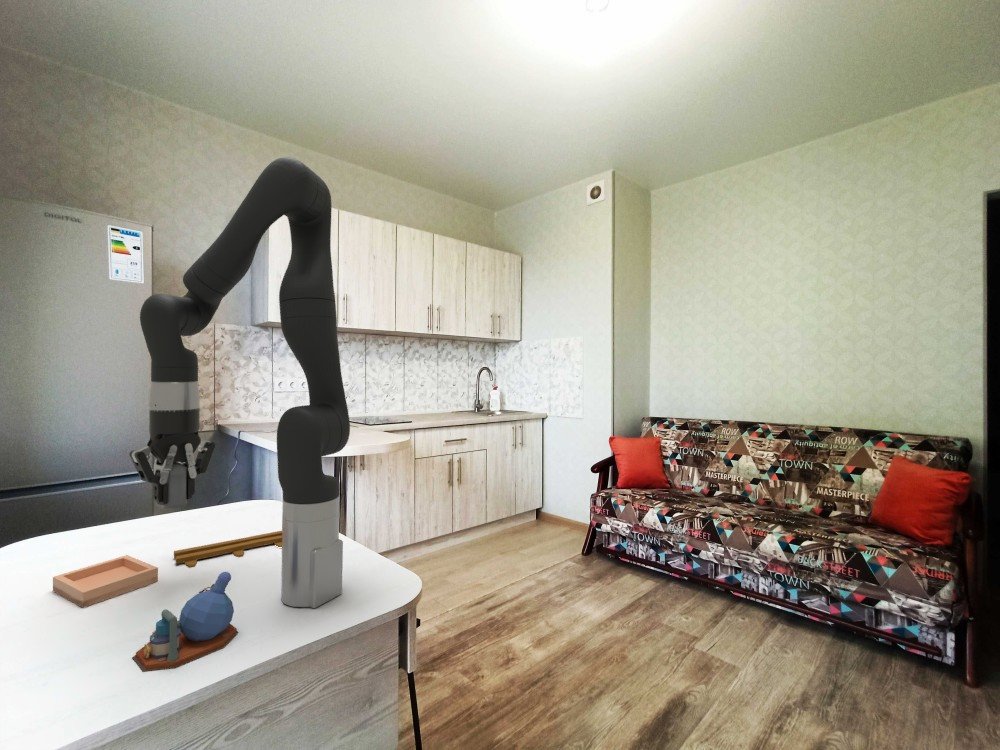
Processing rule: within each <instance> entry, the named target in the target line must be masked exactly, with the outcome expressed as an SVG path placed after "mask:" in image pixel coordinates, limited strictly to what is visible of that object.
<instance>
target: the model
mask: <svg viewBox="0 0 1000 750" xmlns="http://www.w3.org/2000/svg"><path fill="white" fill-rule="evenodd" d="M231 579H232V575H231V573H230V572H229V571H222V572H221V573H219V575H218V576H217V579H216V580H215V582H214V583H212V584H211V585H210V586H207V587H204V588H203V589H201V591H199V592H198V593H197V594H196V593H195V595H194V596H192V597H191V598H189V599H188V600H187V601H186V603H185V604H184V606H183V607H182V609H180V610H181V611H180V615H179V619H178V617H177V616H176V615H174V613H172V612H171V611H170V610H169V609H167V608H166V609H163V610H162V611H161V619H160V620H157V622H156V623H155V630H154V631H153V632H152V634H151V635H150V636H149V641H148V642H147V643H145V644H144V645H143V646H142V647H141V648H140V649H138V650H137V651H136V652H135V654H134V655H133V656H132V657H131V660H132V661H134V663H135V664H136V665H137V666H138V668H139V669H140V670H141V672H142V673H146V672H155V671H166V670H172V669H173V670H174V669H178V668H180V667H182V666H184V665H187V664H189V663H192V662H194V661H197V660H200V659H201V658H203V657H204V658H205V657H206V656H209V655H211V654H213V653H215V652H218V651H220V650H223V649H224V648H225V647H226V646H228V645H229V643H231V642H232V640H234V638H235V637H236V636H237V635H238V634H239V631H238V630H237V628H236V627H235V626H234V625H233V624H231V622H232V621H233V618H234V617H233V616H234V612H235V609H234V604H233V601H232V599H231V598H230V597H229V595H227V593H226V589H227V587H228V585H229V583H230V581H231Z"/></svg>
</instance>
